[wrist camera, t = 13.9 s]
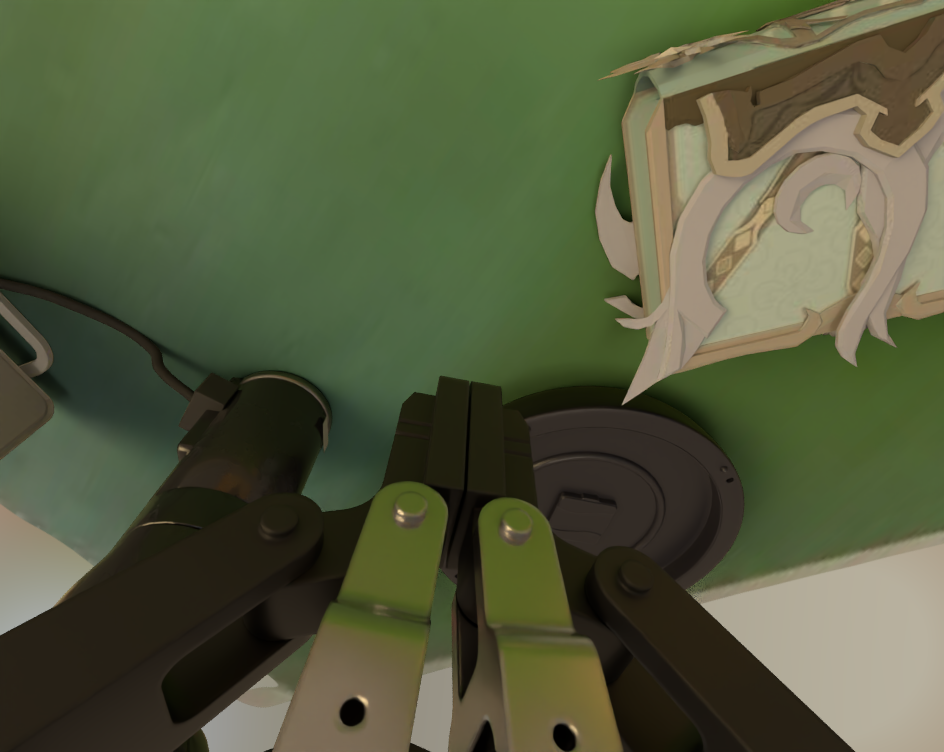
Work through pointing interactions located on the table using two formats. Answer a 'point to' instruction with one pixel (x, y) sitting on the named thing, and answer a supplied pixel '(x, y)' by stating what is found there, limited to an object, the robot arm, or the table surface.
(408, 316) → the table surface
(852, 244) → the ornate book
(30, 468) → the table surface
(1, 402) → the network device
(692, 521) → the round tray
